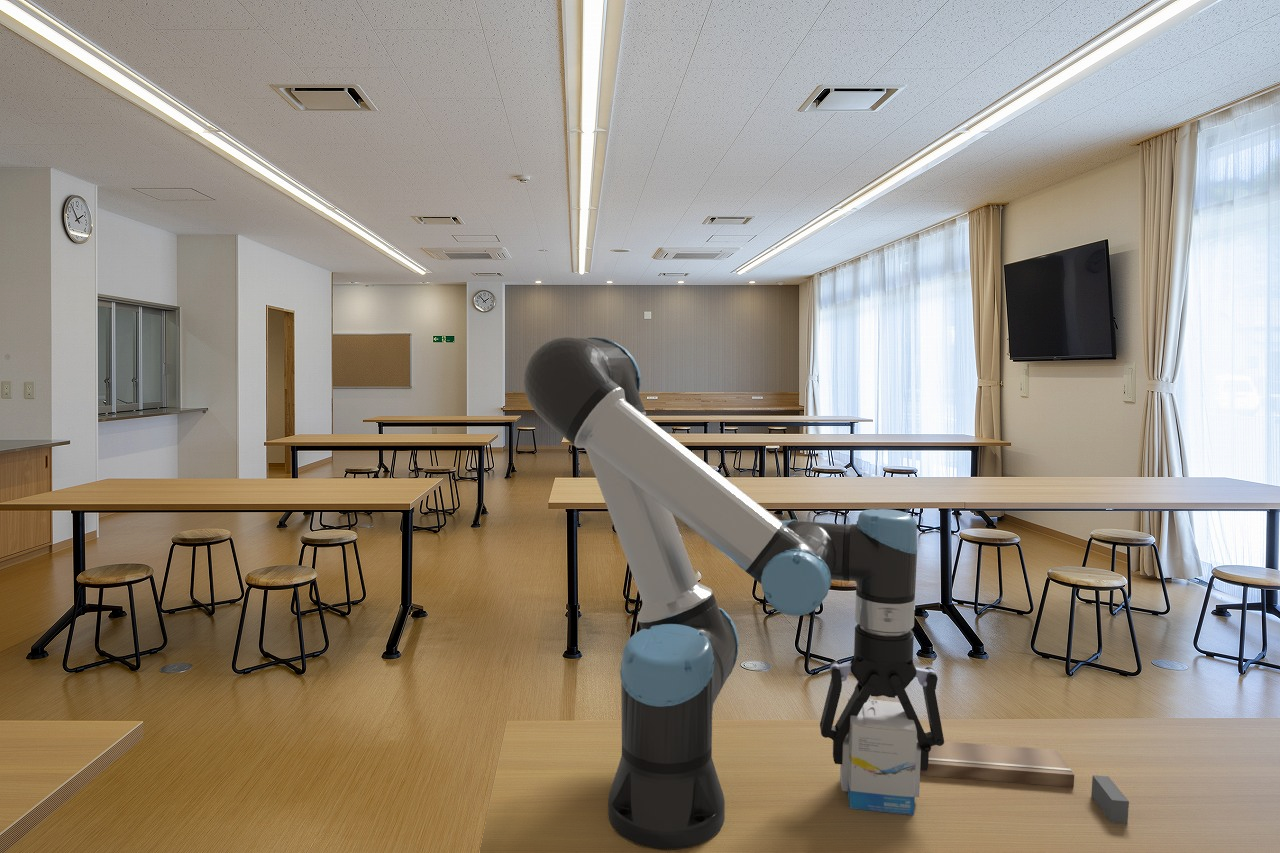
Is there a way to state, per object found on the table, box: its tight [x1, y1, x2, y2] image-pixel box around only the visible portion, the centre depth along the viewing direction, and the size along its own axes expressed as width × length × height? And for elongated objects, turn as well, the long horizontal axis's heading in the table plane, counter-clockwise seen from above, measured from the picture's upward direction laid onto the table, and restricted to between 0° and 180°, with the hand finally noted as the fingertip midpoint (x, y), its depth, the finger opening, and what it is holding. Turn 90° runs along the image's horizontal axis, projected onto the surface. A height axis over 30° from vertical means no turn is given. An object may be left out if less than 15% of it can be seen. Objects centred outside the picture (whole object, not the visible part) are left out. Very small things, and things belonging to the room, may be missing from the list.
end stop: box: [1091, 774, 1130, 825], centre depth 104 cm, size 2×6×3 cm, turn 171°
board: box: [917, 740, 1075, 788], centre depth 115 cm, size 26×7×2 cm, turn 81°
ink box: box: [846, 697, 917, 816], centre depth 107 cm, size 9×8×12 cm
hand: (878, 788), depth 107 cm, fingers closed on ink box, 8 cm apart
